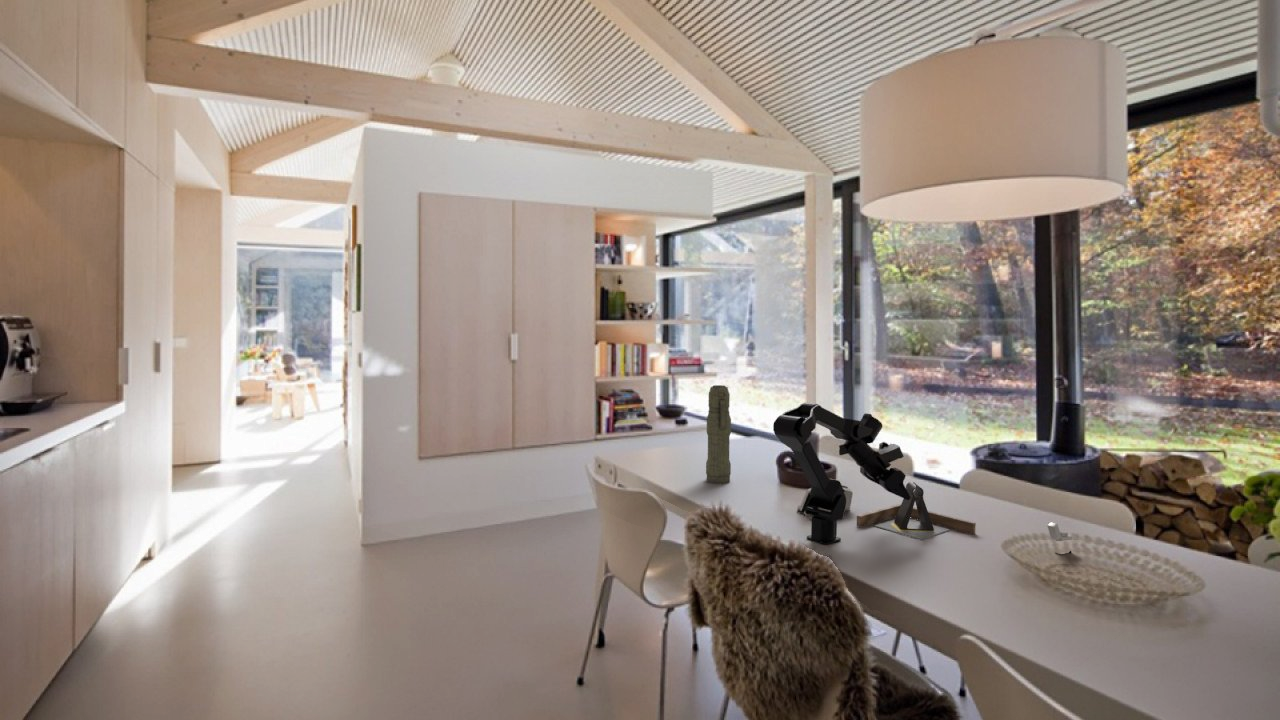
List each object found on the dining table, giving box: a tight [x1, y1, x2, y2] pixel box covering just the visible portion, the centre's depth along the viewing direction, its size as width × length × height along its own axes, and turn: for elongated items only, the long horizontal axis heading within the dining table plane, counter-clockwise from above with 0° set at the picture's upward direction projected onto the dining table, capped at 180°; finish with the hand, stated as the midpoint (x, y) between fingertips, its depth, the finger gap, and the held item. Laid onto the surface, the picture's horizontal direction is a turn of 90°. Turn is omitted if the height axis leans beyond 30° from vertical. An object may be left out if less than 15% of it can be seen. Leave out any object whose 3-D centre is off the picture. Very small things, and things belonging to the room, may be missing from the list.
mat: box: [874, 518, 951, 541], centre depth 174 cm, size 14×14×1 cm
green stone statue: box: [705, 384, 732, 484], centre depth 228 cm, size 9×12×35 cm
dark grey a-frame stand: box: [894, 481, 934, 531], centre depth 174 cm, size 9×6×12 cm, turn 82°
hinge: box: [796, 483, 853, 516], centre depth 190 cm, size 17×5×10 cm, turn 112°
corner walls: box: [856, 503, 977, 535], centre depth 173 cm, size 21×23×3 cm
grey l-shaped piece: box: [1047, 522, 1073, 541], centre depth 155 cm, size 7×2×8 cm, turn 113°
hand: (902, 494), depth 173 cm, fingers open, 9 cm apart
